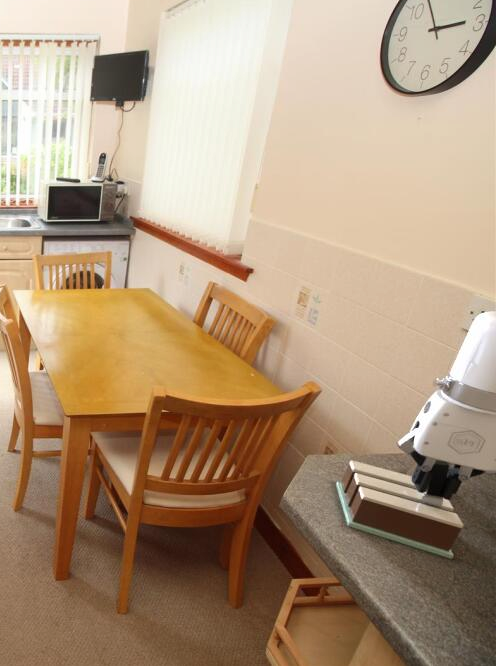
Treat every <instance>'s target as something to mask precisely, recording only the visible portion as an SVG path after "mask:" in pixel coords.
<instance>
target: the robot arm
mask: <svg viewBox="0 0 496 666" xmlns="http://www.w3.org/2000/svg"><path fill="white" fill-rule="evenodd" d="M432 386H433V387H436V388H439V389H436V391H434V393H432V395H431V396H430V397H429V399H428V400H427V401H426V402H425V404H424V405H423V406H422V408H421V409H420V411H419V413H418V415H417V416H416V418H415V420H414V422H413V423H412V426H411V428H410V430H409V432H408V433H407V434H406V435H404V436H403V437H402V438H400V439H399V440H397V442H396V445H397V448H398V449H399V450H400V451H402V452H404V453H405V454H406V455H408V456H409V457H411V458H412V459H413V460H414V461H416V463H417V464H418V465H417V467H416V469H415V471H414V473H413V476H412V482H413V483H414V485H415V487H416V489H417V491H418V492H420V493H425V491H426V489H427V487H428V485H429V483H430V481H431V479H432V477H433V474H432V472H431V470H432V467H433V465H434V464H435V462H436V460H441V461H445V462H449V463H453V466H452V468H451V469H448V474H447V479H446V484H445V490H444V492H443V494H442V497H443V498H444V499H446V500H449V501H450V500H451V499H452V497H453V495H456V494H457V493H458V491H459V488H460V487H461V485H462V483H463V482H467V481H469V480H470V478H474V477H477V476H481V475H483V474H496V311H494V310H493V311H492V310H491V311H485V312H481V313H480V314H478V315H477V316H475V318H474V319H473V321H472V323H471V325H470V327H469V330H468V331H467V334H466V337H465V338H464V341H463V342H462V345H461V347H460V349H459V351H458V354H457V356H456V359H455V360H454V363H453V365H452V367H451V369H450V372H449V373H447V374H446V376H445V377H444V378H443V377H442V378H438V377H435V378H434V379H433V382H432Z"/></svg>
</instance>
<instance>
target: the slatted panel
mask: <svg viewBox="0 0 496 666" xmlns="http://www.w3.org/2000/svg"><path fill="white" fill-rule="evenodd" d="M335 487H336V490H337V493H338V497H339V500H340V503H341V507H342V511H343V514H344V517H345V521H346V524H347V527H350V528H353V529H356V530H359V531H361V532H365V533H368V534H371V535H375V536H378V537H381V538H383V539H388V540H391V541H394V542H397V543H400V544H402V545H406V546H409V547H413V548H416V549H418V550H422V551H425V552H428V553H431V554H435V555H438V556H441V557H444V558H447V559H451V560H452V559H454V556H455V555H454V553H453V552H452V547H453V545H454V544H455V542H456V540H457V538H458V536H459V535H460V533H461V531H462V529H463V528H464V524H463V522H462V520H461V519H460V517H459V514H458V513H455V512H453V511H454V506H453V505H452V503H451V501H450V500H446V499H444V498H443V504H442V509H438V508H435V507H431V506H428V505H424V504H421V502H422V496H423V495H424V493H420V492H418V491H417V489H416V487H415V485H414V483H413V482H412V476H408V475H405V473H400V472H397V471H393V470H389V469H385V468H382V467H378V466H375V465H371V464H368V463H364V462H359V461H357V460H353V459H350V461H349V463H348V465H347V468H346V470H345V473H344V475H343V478H342V480H341V481H338V480H337V481H336V483H335Z"/></svg>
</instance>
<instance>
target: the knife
mask: <svg viewBox="0 0 496 666" xmlns="http://www.w3.org/2000/svg"><path fill="white" fill-rule="evenodd" d="M448 468H449V465H448V463H447V462H445V461H441V460H436V462H435V464H434V465H433V467H432V470H431V472H432V474H433V477H432V479H431V481H430V483H429V485H428V487H427V489H426V491H425V493H424V495H423V496H422V502H421V504H424V505H428V506H431V507H435V508H438V509H442V504H443V497H442V494H443V492H444V490H445V484H446V479H447V474H448Z"/></svg>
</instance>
